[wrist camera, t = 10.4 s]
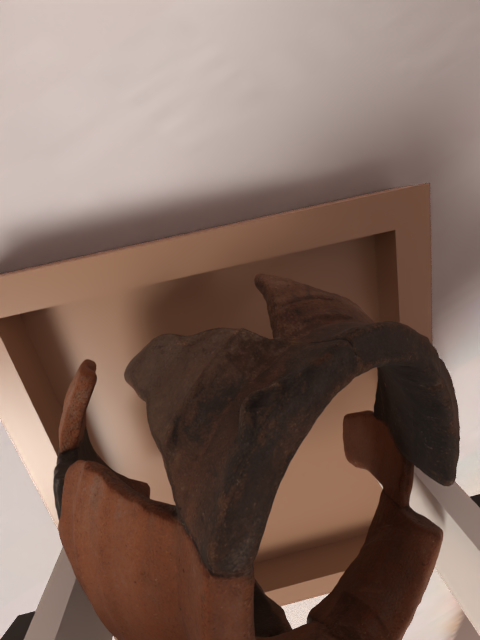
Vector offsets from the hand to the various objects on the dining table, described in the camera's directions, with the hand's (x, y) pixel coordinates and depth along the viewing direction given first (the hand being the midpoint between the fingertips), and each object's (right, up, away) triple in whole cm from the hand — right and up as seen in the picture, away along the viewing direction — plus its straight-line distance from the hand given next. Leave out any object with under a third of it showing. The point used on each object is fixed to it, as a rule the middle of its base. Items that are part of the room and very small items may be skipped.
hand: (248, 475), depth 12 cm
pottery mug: (-1, +2, 0) cm, 2 cm away
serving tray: (0, +1, +3) cm, 3 cm away
